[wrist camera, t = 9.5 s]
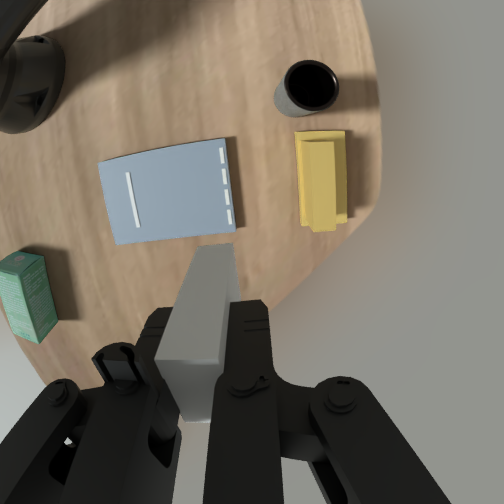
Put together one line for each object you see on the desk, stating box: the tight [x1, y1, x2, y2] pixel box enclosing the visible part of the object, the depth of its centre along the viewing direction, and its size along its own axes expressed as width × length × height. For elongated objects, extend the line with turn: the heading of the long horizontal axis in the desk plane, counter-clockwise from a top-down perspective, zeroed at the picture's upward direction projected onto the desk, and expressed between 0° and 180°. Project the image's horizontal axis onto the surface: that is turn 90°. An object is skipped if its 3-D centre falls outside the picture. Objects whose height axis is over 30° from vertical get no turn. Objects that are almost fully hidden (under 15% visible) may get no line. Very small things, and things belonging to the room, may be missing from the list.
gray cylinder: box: [274, 60, 339, 117], centre depth 24 cm, size 4×4×10 cm
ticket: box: [98, 138, 236, 245], centre depth 32 cm, size 11×16×1 cm
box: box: [0, 251, 58, 344], centre depth 35 cm, size 7×14×8 cm, turn 172°
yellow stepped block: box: [294, 131, 347, 232], centre depth 29 cm, size 11×6×6 cm, turn 6°
